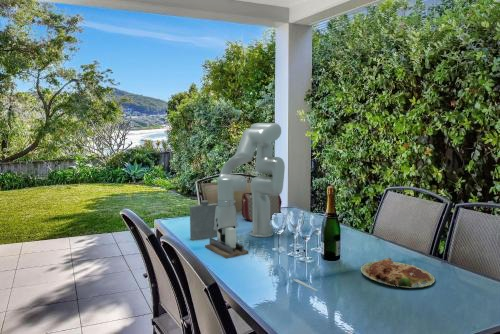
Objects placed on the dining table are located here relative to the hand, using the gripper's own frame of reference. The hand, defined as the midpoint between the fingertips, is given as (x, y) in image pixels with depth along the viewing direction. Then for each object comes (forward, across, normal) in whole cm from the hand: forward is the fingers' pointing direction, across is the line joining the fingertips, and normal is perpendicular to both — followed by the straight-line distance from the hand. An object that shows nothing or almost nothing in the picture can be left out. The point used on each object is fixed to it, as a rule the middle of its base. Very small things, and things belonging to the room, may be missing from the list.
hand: (226, 240), depth 200 cm
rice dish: (+5, -38, +67) cm, 77 cm away
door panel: (+2, 0, 0) cm, 2 cm away
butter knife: (+5, -3, +60) cm, 60 cm away
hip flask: (+5, -2, -25) cm, 26 cm away
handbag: (+5, -53, -43) cm, 68 cm away
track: (+5, 0, 0) cm, 5 cm away
